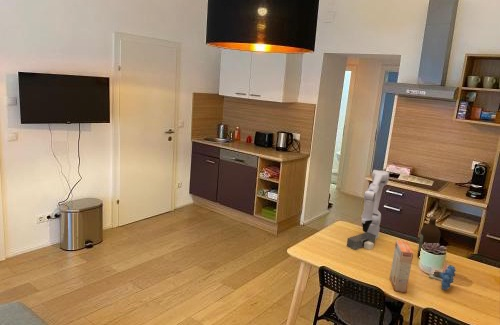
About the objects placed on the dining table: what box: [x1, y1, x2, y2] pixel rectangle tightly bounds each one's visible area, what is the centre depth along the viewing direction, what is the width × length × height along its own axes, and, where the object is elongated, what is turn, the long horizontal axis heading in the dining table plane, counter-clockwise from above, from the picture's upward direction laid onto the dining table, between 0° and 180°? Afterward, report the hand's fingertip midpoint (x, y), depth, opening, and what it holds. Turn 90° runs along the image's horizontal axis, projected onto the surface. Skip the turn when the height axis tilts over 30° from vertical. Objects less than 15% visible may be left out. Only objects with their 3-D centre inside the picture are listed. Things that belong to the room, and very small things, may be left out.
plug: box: [362, 241, 375, 251], centre depth 234 cm, size 4×15×3 cm, turn 40°
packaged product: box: [428, 261, 450, 283], centre depth 204 cm, size 18×5×10 cm
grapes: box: [440, 264, 457, 291], centre depth 189 cm, size 12×7×12 cm, turn 134°
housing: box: [346, 232, 377, 251], centre depth 234 cm, size 20×6×5 cm, turn 128°
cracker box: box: [389, 239, 414, 293], centre depth 187 cm, size 14×6×21 cm, turn 168°
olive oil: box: [417, 216, 441, 259], centre depth 220 cm, size 11×11×25 cm
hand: (365, 231), depth 231 cm, fingers closed
